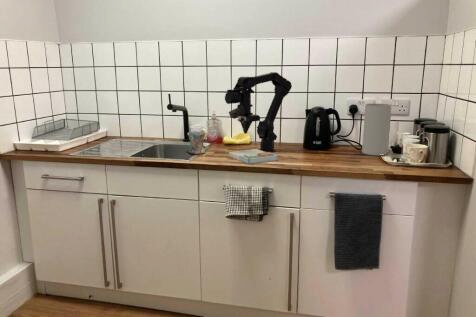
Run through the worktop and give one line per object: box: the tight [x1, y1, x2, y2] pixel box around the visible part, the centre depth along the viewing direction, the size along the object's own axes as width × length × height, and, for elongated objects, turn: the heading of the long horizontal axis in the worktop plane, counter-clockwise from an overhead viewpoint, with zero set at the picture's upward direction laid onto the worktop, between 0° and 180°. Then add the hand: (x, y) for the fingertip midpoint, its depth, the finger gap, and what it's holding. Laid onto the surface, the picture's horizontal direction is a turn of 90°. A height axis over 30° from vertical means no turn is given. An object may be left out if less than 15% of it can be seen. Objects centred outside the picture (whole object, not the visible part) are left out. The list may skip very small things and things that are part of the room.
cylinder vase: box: [361, 103, 393, 157], centre depth 203 cm, size 12×12×25 cm
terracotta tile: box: [258, 152, 273, 157], centre depth 194 cm, size 5×5×2 cm
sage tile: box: [244, 154, 258, 159], centre depth 190 cm, size 5×5×2 cm
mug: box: [187, 131, 206, 155], centre depth 206 cm, size 12×9×11 cm
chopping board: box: [228, 148, 264, 161], centre depth 200 cm, size 16×11×2 cm
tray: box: [238, 152, 279, 165], centre depth 191 cm, size 16×9×2 cm, turn 118°
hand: (245, 133), depth 202 cm, fingers closed
